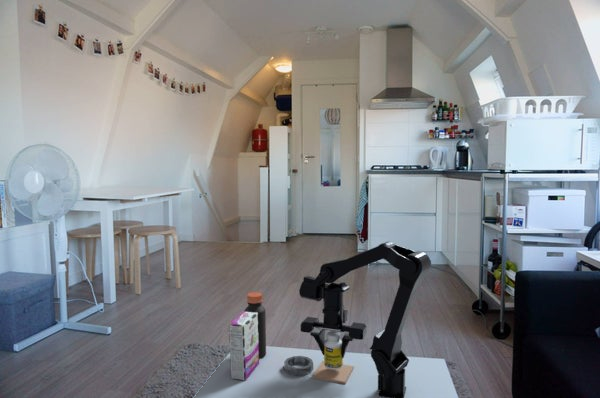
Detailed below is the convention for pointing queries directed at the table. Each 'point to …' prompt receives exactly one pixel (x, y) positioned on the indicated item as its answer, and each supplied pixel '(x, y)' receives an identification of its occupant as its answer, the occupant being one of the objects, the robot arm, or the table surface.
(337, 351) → the supplement bottle
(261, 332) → the vinegar
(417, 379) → the table surface
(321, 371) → the mat
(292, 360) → the collar
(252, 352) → the candy bar box
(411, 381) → the table surface
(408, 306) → the robot arm
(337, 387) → the table surface
